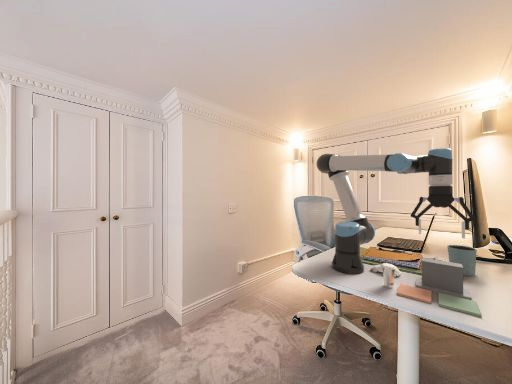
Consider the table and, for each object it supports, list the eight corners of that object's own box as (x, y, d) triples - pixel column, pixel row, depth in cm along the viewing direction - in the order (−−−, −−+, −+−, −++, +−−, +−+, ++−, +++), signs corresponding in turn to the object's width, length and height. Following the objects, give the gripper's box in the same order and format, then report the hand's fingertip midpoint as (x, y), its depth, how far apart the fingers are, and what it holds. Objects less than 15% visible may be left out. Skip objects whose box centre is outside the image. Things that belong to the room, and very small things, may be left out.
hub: (415, 287, 84) (415, 260, 84) (416, 280, 90) (416, 255, 90) (471, 300, 74) (471, 270, 74) (468, 292, 80) (468, 264, 80)
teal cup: (475, 278, 92) (475, 251, 92) (445, 271, 100) (445, 247, 100) (477, 272, 99) (477, 247, 99) (449, 266, 107) (449, 243, 107)
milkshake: (380, 282, 89) (380, 259, 89) (395, 285, 86) (395, 262, 86) (379, 286, 86) (379, 262, 86) (394, 290, 82) (394, 265, 82)
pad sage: (439, 305, 71) (439, 303, 71) (438, 294, 78) (438, 292, 78) (481, 317, 64) (481, 314, 64) (476, 303, 72) (476, 301, 72)
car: (401, 274, 98) (401, 265, 98) (398, 278, 93) (398, 268, 93) (373, 268, 106) (373, 259, 106) (369, 271, 102) (369, 262, 102)
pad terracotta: (397, 294, 79) (397, 292, 79) (400, 285, 86) (400, 283, 86) (431, 303, 72) (431, 301, 72) (431, 292, 80) (431, 290, 80)
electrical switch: (446, 283, 87) (443, 261, 88) (430, 281, 91) (428, 260, 91) (444, 276, 95) (441, 256, 95) (430, 274, 98) (427, 255, 99)
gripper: (403, 186, 92) (403, 233, 92) (485, 184, 76) (486, 241, 76) (404, 186, 98) (405, 230, 98) (482, 184, 81) (482, 238, 81)
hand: (440, 235), depth 87 cm, fingers open, 13 cm apart
